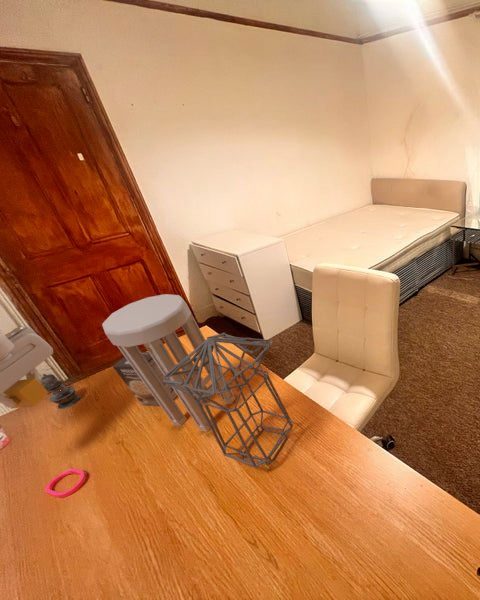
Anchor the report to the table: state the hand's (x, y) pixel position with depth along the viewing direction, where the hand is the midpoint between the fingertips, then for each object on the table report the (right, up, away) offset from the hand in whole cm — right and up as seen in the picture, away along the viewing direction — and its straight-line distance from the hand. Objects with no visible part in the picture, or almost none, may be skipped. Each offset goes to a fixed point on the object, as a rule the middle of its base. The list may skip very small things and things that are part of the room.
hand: (25, 395), depth 72 cm
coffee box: (+15, -8, +22) cm, 28 cm away
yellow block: (0, -1, +1) cm, 2 cm away
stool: (+32, -10, +17) cm, 37 cm away
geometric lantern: (+54, -15, +6) cm, 56 cm away
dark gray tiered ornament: (-15, -9, +24) cm, 29 cm away
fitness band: (+9, -21, +1) cm, 23 cm away
